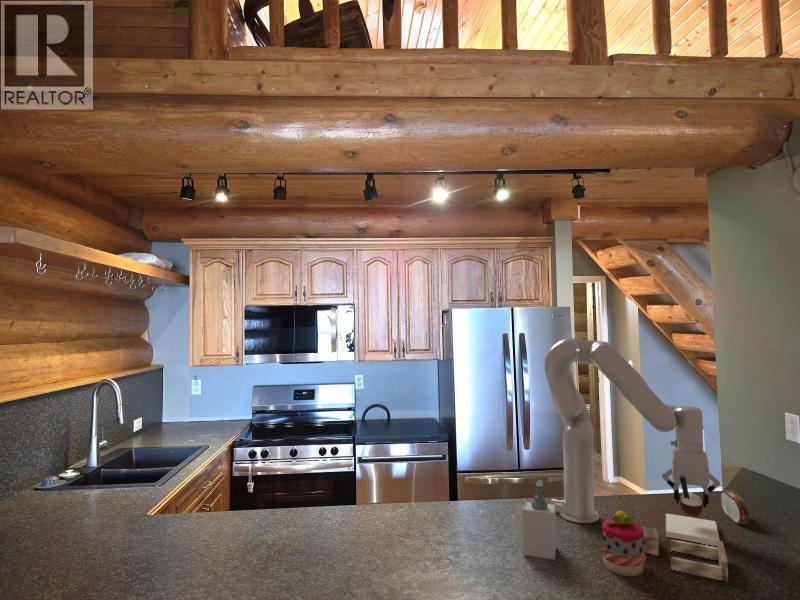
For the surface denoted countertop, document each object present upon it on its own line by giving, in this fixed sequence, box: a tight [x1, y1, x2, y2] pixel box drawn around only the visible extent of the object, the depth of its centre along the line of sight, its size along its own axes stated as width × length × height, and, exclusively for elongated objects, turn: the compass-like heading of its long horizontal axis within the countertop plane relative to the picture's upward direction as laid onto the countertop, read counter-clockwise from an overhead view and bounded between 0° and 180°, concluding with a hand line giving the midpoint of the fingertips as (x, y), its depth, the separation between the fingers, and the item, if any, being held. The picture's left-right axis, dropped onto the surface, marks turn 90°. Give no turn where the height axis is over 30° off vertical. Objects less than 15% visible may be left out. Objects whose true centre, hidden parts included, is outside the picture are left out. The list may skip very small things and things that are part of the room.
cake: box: [601, 510, 647, 577], centre depth 136 cm, size 10×11×15 cm
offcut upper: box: [641, 526, 660, 548], centre depth 147 cm, size 5×7×2 cm, turn 158°
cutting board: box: [665, 513, 721, 548], centre depth 158 cm, size 14×16×2 cm
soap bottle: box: [522, 479, 557, 561], centre depth 146 cm, size 9×9×19 cm
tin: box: [720, 489, 750, 526], centre depth 169 cm, size 15×3×8 cm, turn 168°
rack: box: [670, 539, 729, 582], centre depth 137 cm, size 13×13×5 cm
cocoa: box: [679, 477, 704, 517], centre depth 159 cm, size 10×6×12 cm, turn 101°
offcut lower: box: [643, 545, 659, 556], centre depth 147 cm, size 5×8×2 cm, turn 153°
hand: (691, 503), depth 158 cm, fingers closed on cocoa, 6 cm apart
